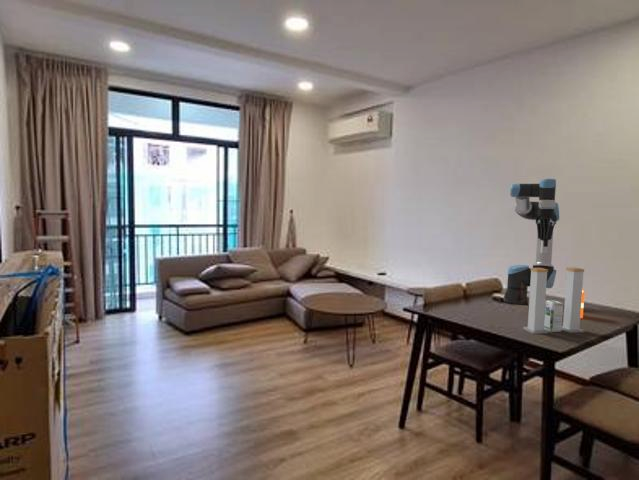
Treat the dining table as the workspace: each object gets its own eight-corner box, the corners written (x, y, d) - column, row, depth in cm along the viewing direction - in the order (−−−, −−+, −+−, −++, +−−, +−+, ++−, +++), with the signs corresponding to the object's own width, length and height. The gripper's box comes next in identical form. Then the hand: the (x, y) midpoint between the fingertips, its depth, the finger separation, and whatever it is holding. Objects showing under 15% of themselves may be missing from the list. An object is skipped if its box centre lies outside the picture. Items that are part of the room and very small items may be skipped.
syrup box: (543, 328, 211) (545, 300, 210) (554, 328, 212) (556, 300, 210) (550, 332, 205) (552, 303, 204) (561, 331, 206) (563, 302, 205)
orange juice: (581, 314, 238) (584, 280, 236) (582, 318, 230) (585, 282, 228) (565, 313, 241) (568, 278, 239) (566, 316, 233) (568, 281, 232)
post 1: (532, 333, 203) (536, 270, 200) (523, 328, 211) (526, 267, 208) (548, 333, 204) (552, 270, 201) (537, 328, 211) (541, 267, 208)
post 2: (569, 332, 205) (573, 269, 202) (558, 327, 213) (562, 267, 210) (584, 332, 206) (588, 269, 203) (572, 327, 214) (576, 267, 211)
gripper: (532, 208, 228) (529, 251, 231) (547, 208, 216) (544, 254, 218) (544, 208, 229) (542, 251, 232) (561, 208, 216) (558, 254, 219)
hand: (543, 252), depth 225 cm, fingers closed
